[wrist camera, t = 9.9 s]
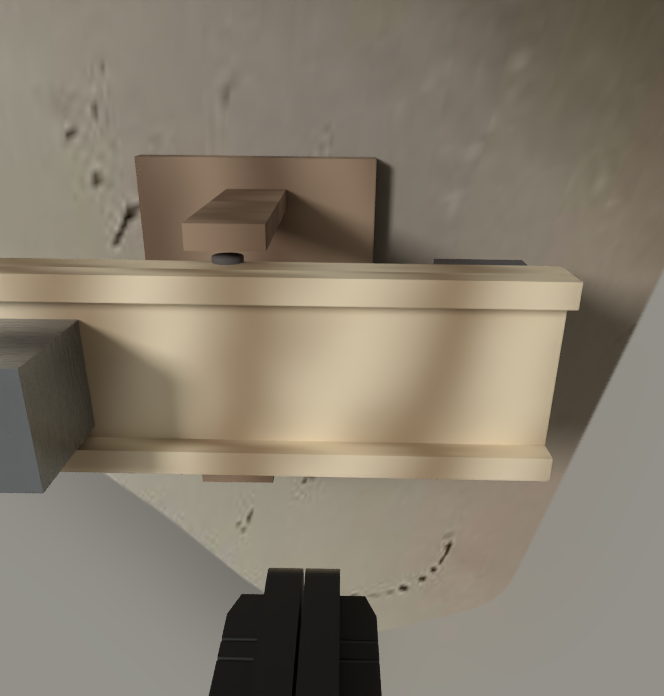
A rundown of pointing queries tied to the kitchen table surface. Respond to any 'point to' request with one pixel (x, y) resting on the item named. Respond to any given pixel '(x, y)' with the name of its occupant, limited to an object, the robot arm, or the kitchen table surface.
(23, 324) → the block
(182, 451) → the beam
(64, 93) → the kitchen table surface
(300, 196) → the stand
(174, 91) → the kitchen table surface
